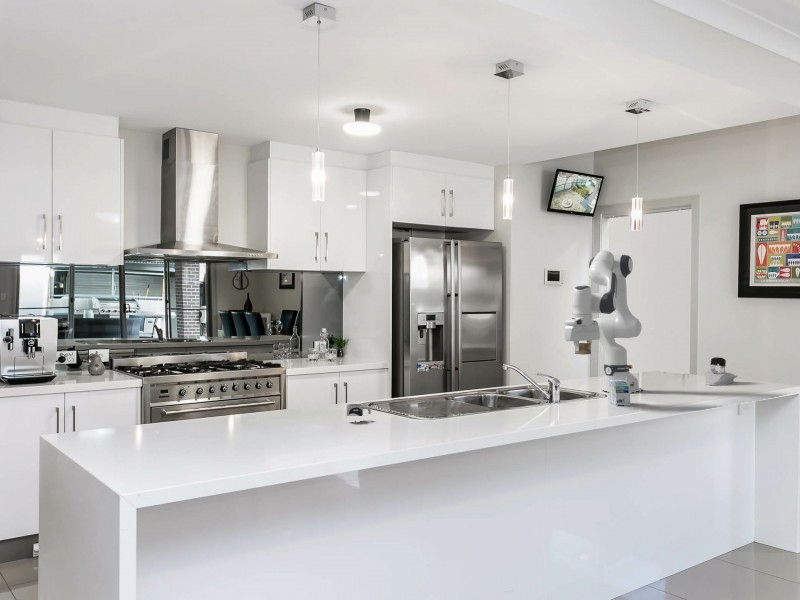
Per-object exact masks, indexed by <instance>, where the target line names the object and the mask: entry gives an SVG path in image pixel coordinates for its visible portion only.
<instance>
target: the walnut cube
mask: <svg viewBox="0 0 800 600" xmlns="http://www.w3.org/2000/svg"><path fill="white" fill-rule="evenodd" d="M578 344H579V347H581V350H580V351H576V347H575V346H574V354H575V355H581V356H583V355H592V349H591V348H592V347H591V346H592V344H591V343H587V342H579V343H578Z"/></svg>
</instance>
